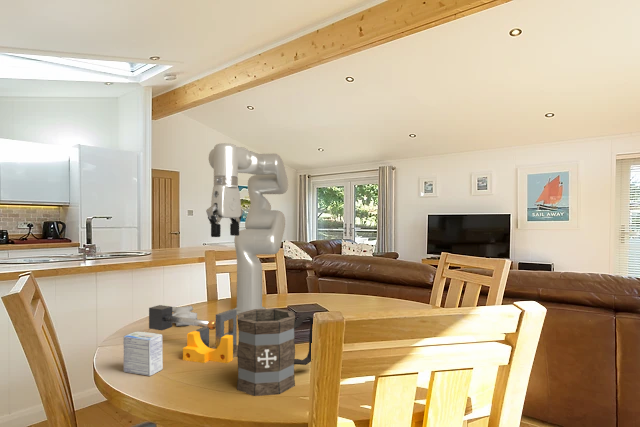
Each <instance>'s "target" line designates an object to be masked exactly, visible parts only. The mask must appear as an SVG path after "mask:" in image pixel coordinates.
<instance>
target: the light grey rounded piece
mask: <svg viewBox="0 0 640 427" xmlns="http://www.w3.org/2000/svg"><path fill="white" fill-rule="evenodd" d="M171 307H172V316H177V317H184V318H191V319H198V313H197V312H194V311H193V310H194V308H193V306H192V305H187V306H171ZM172 324H174V323H173V322H172ZM186 326H187V325H186V324H179V323H175V327H186Z"/></svg>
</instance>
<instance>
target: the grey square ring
mask: <svg viewBox="0 0 640 427" xmlns="http://www.w3.org/2000/svg"><path fill="white" fill-rule="evenodd" d="M237 318H238V315H237V310H236V309H234V308H231V309H228V310H225V311H222V312H219V313H216V314H215V321H216V328H215V346H212V347H211V348H212V349H217V348H218V346H219V344H220V341H221V337H223V336H225V335H233V359H234V358H236V357H238V356H237V353H238V344H237V332H238V331H237V330H238V328H237V327H238V321H237ZM226 321H227V322H228V323H227V324H228V327H227V328H228V330H227V331H228V332H225V322H226ZM195 331H198V332H200V337H201V340H202V342H203V343H204V344H205V345H206V346H207V347H209V348H210V329H209V328H206V327H200V328H198V329H196V330H195Z"/></svg>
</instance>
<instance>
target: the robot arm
mask: <svg viewBox="0 0 640 427" xmlns="http://www.w3.org/2000/svg"><path fill="white" fill-rule="evenodd" d="M208 163H209V165H210V167H211V169H212V170H213V187H212V192H211V193H212V194H211V201H210V202H211V203H210V207H208V208H207V209H205V211H206V216H207V220H208V221H209V224H210V237H211V238H220V237H221V233H222V232H221V227H222V226H221V224H220V222H221V220H222V219H224V218H225V219H229V220H230V222H231V223H230V226H229V231H230V236H234V249H235V255H236V307H235V308H233V309H236V310H237V316H238V313H242V312H246V311H250V310H253V309H267V308H266V307H265V306H263V264H262V261H260V259H259V258H258V256H257V255H276V254H277V253H279V251H280V250H281V247H282V242H283V237H284V235H285V234H284V233H285V230H286V217H285V214H284V213H283V211H280V210H275V209H272V204H271V203H270V202H269V200H268V198H266V196H264V195H283V194H285V193H287V191H288V189H289V179H288V176H287V172H286V167H285V165H284V162H283V159H282V157H281V156H280V155H279V154H278V153H257V152H255V151H252V150H249V149H248V148H245V147H242V146H236V145H235V144H233V143H226V142H225V143H221V142H220V143H217V144H215V145H214V147H213V149H211V150H210V151H209V153H208ZM238 173H239V174H249V175H252V176H249V178H248V180H247V191H248V198H249V201H250V206H249V210H248V212H247V215H246V219H245V222H244V227H245V229H241V230H240V224H241V220H242V216H243V212H244V211H243V209H242V204H241V203H242V202H241V193H240V189H239V186H238V182H239V181H238V180H239V178H238V177H239V176H238Z"/></svg>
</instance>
